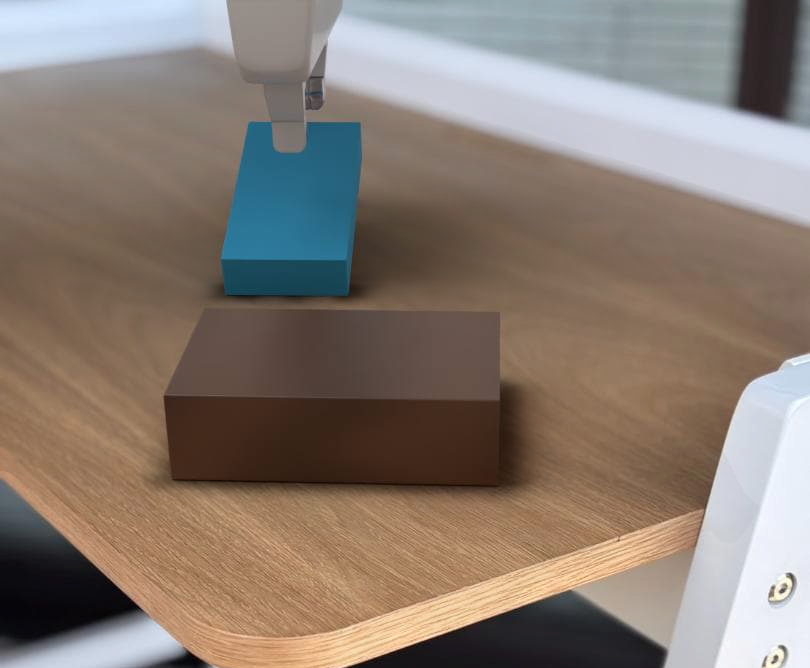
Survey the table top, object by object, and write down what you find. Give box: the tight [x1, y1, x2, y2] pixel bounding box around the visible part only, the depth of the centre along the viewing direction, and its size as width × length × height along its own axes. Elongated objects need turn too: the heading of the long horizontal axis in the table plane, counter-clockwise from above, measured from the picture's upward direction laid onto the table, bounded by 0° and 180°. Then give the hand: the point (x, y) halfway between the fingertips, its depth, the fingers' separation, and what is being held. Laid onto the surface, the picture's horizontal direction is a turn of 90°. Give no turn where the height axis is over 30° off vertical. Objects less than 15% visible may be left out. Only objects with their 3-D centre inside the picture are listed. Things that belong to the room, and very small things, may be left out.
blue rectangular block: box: [220, 121, 363, 297], centre depth 90 cm, size 7×7×18 cm
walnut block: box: [162, 307, 501, 486], centre depth 67 cm, size 14×10×4 cm
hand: (301, 127), depth 87 cm, fingers open, 8 cm apart
